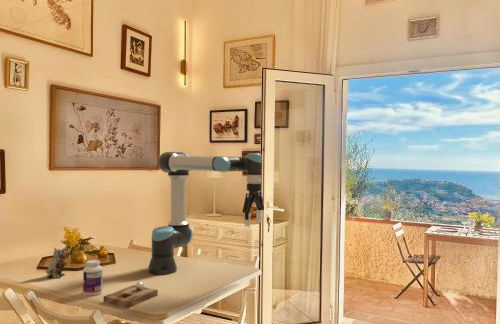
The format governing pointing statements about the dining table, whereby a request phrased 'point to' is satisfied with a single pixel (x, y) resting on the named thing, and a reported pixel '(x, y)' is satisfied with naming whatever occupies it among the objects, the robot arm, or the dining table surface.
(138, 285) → the ball
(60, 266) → the figurine
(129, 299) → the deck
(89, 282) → the pill bottle
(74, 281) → the dining table surface
